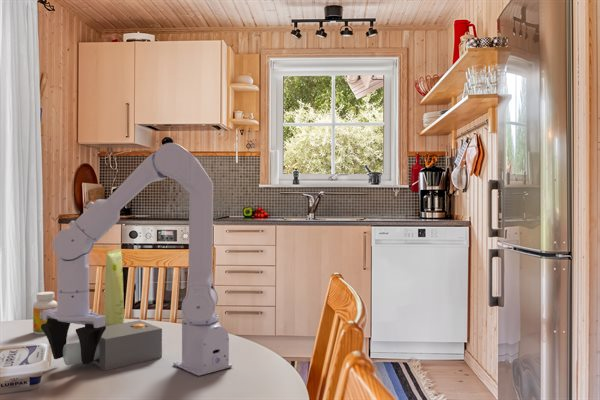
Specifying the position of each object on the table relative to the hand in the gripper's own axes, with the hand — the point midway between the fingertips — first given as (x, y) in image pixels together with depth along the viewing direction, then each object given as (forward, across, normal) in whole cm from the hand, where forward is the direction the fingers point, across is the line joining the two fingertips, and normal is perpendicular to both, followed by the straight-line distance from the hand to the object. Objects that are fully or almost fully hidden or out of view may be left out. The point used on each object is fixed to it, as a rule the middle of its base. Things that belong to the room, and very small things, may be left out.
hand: (73, 360), depth 101 cm
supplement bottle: (+2, +29, -17) cm, 33 cm away
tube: (+2, +20, -31) cm, 37 cm away
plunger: (-2, -5, -13) cm, 14 cm away
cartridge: (+1, -2, -5) cm, 5 cm away
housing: (+2, -4, -10) cm, 10 cm away
